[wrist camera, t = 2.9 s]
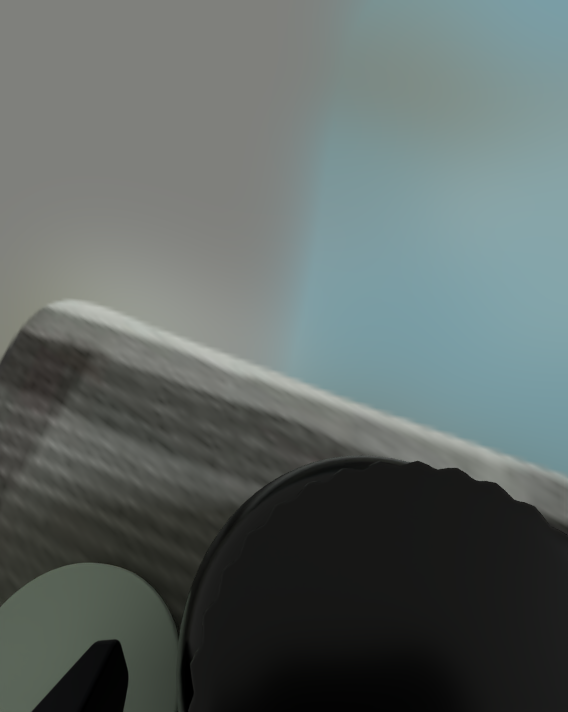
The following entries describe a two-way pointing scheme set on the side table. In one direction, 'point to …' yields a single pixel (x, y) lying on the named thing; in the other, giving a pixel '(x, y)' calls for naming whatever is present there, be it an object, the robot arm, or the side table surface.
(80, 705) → the robot arm
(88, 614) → the pad
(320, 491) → the supplement bottle
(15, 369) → the side table surface
